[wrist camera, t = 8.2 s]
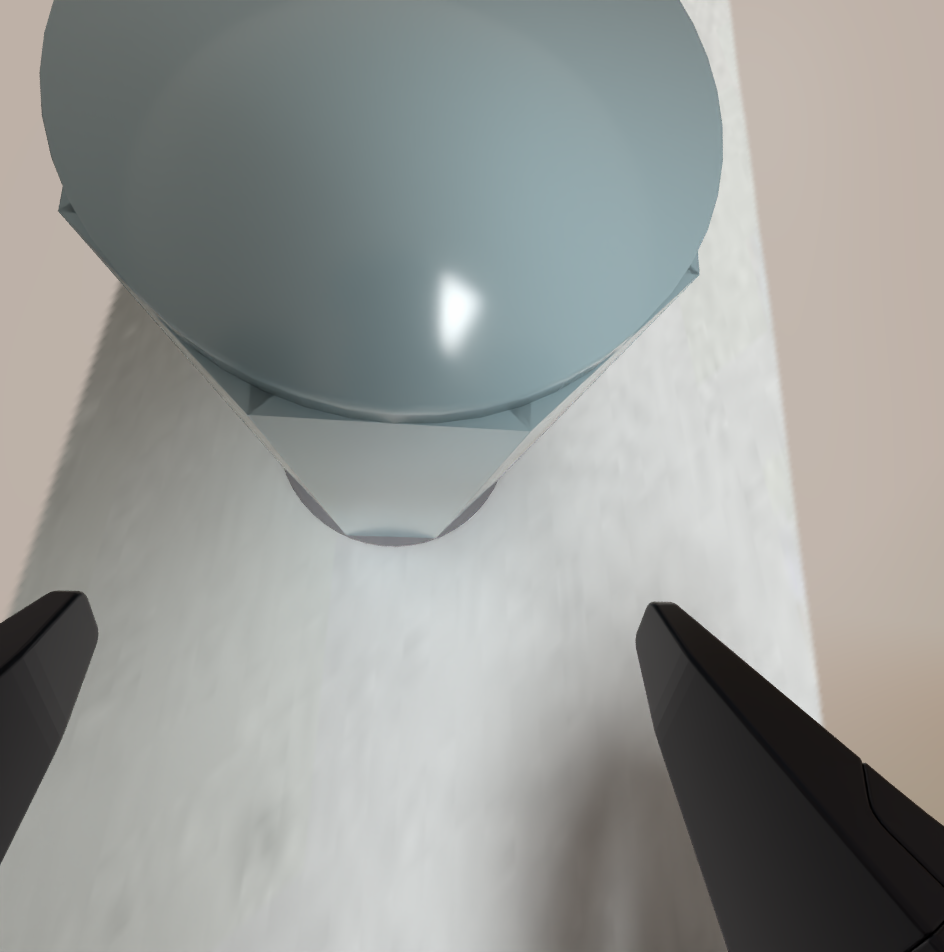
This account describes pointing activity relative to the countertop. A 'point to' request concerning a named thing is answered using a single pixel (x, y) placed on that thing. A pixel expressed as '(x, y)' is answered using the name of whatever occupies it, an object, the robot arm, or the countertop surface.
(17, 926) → the countertop surface
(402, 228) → the dome-topped hexagonal post
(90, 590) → the countertop surface
